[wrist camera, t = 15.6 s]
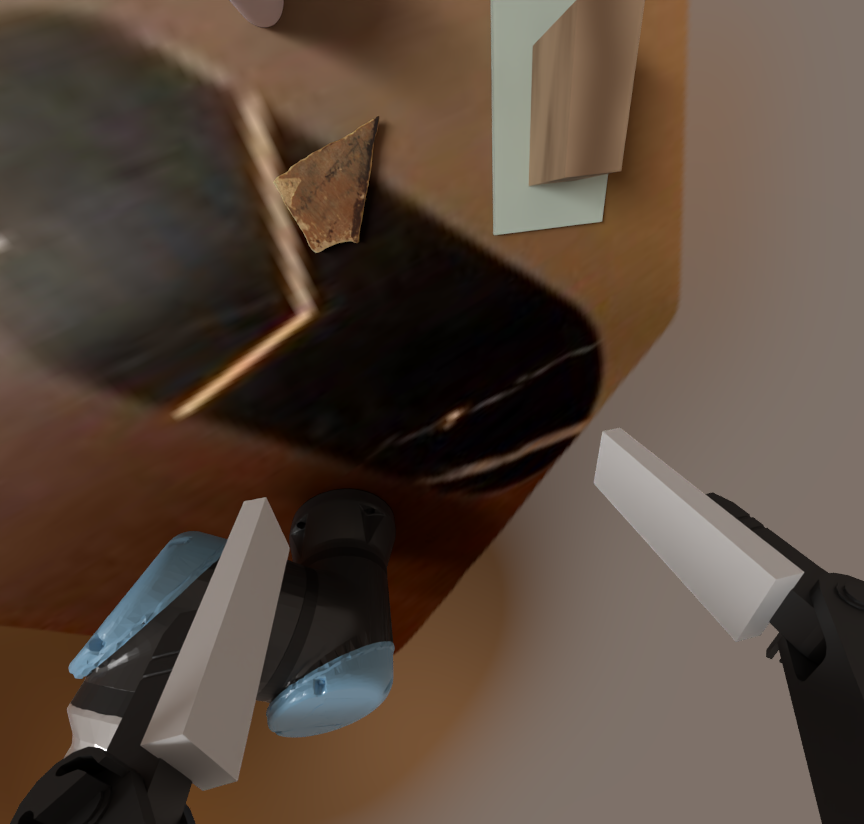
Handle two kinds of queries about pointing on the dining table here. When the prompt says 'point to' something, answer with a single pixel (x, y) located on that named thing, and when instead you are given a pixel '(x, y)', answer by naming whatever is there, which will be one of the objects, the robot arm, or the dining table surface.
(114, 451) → the dining table surface
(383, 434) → the dining table surface
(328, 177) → the shard
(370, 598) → the robot arm
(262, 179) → the dining table surface
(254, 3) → the smoothie
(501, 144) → the felt mat
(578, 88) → the beige block
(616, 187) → the dining table surface
